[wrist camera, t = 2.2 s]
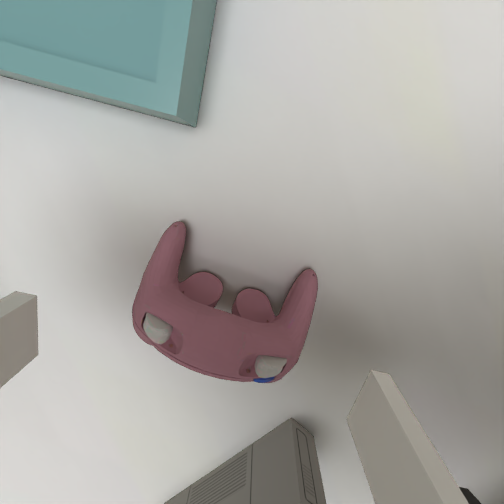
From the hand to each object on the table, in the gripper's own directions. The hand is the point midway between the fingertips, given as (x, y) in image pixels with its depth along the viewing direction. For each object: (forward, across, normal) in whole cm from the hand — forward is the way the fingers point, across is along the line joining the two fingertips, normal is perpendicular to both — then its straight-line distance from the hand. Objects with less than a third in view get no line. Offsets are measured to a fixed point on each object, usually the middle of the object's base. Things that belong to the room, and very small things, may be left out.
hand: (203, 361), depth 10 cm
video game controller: (+8, 0, 0) cm, 8 cm away
